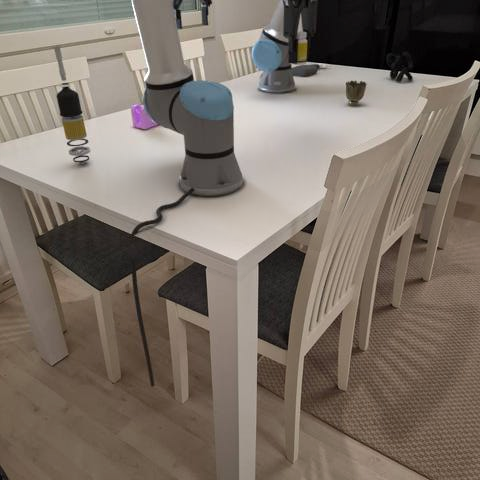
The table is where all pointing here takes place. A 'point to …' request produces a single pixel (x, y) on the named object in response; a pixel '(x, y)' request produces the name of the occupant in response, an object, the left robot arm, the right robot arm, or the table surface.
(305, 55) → the supplement bottle
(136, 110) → the bracket
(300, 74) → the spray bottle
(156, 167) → the table surface
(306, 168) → the table surface
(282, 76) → the right robot arm
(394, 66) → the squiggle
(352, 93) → the cup
